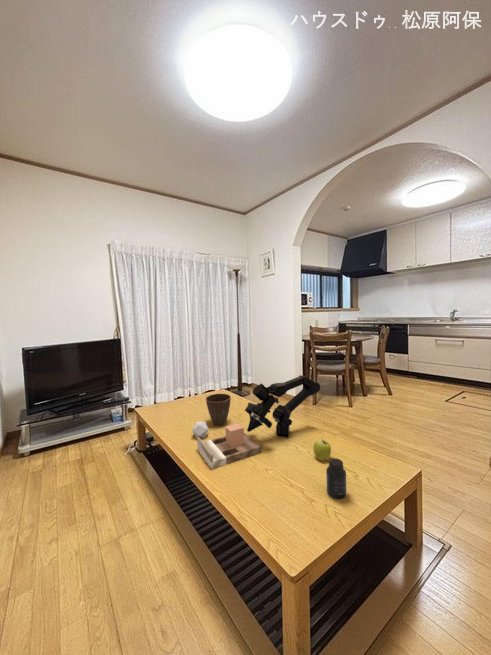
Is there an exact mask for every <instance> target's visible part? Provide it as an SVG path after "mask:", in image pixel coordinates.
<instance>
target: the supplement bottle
mask: <svg viewBox="0 0 491 655" xmlns="http://www.w3.org/2000/svg"><path fill="white" fill-rule="evenodd" d="M328 460H329V461H328V466H327V468H326V475H325V476H326V479H325V480H326V493H327V494H328V496H329V497H330V498H332V499H334V500H343V499H345V498H346V497H347V472H346V469H345V468H344V462H343V460H341V458H340V459H339V458H335V457H333V458H330V459H328Z"/></svg>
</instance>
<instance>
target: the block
mask: <svg viewBox="0 0 491 655" xmlns="http://www.w3.org/2000/svg"><path fill="white" fill-rule="evenodd" d="M244 433H245V428H244V426H242V425H241V424H240V423H235V424H234V423H233V424H231V425H226V426H225V436H226V443H227V444H228V445H229V446H230V447H231V448H232V447H236V446H239V445H242V444H244Z"/></svg>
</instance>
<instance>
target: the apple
mask: <svg viewBox="0 0 491 655" xmlns="http://www.w3.org/2000/svg"><path fill="white" fill-rule="evenodd" d="M313 453H314V456H315V458H317V460H319V461H328V460H329V458H330V457H331V454H332V447H331V444H330V442H328V441H327V440H326V439H323V438H321V439H317V440H316V441H315V442H314V445H313Z"/></svg>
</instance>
